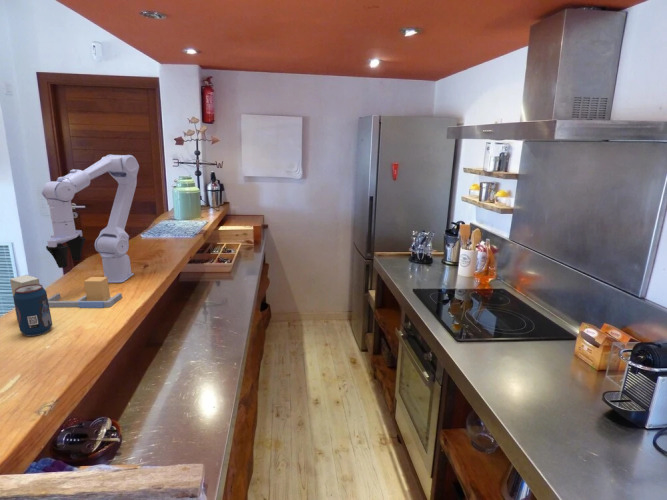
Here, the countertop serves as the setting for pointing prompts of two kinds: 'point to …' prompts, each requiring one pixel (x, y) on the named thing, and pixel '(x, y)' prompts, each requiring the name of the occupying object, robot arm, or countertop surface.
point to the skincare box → (22, 282)
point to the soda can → (32, 309)
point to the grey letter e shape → (82, 302)
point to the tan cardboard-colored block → (97, 289)
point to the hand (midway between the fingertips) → (70, 263)
